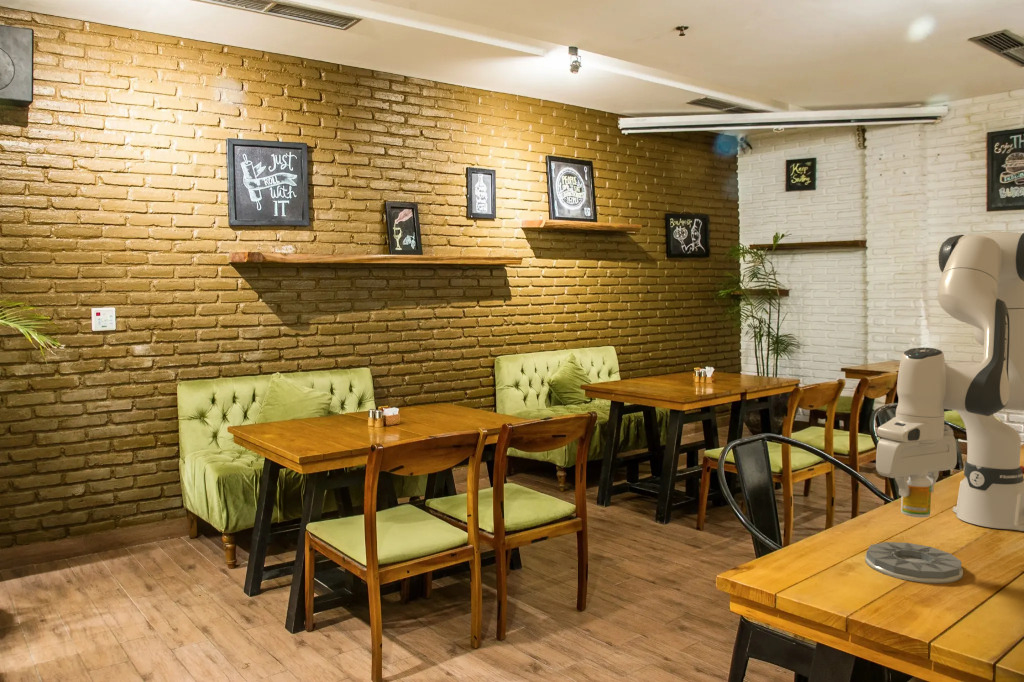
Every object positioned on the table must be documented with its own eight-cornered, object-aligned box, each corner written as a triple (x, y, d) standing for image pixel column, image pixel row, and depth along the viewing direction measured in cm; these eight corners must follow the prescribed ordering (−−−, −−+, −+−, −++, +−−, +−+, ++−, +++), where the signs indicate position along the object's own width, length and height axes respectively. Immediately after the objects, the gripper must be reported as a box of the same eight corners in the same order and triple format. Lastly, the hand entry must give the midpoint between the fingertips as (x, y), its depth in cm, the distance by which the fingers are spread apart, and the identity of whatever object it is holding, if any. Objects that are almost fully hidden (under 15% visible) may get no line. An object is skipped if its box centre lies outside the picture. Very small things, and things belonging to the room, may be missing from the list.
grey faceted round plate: (904, 546, 173) (904, 537, 173) (982, 574, 157) (983, 563, 157) (846, 558, 166) (846, 548, 165) (922, 589, 149) (923, 578, 149)
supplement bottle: (933, 518, 157) (935, 471, 157) (905, 517, 158) (906, 470, 158) (925, 511, 162) (927, 465, 162) (897, 509, 164) (899, 464, 163)
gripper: (938, 421, 166) (935, 485, 167) (871, 428, 158) (868, 495, 159) (967, 426, 161) (963, 492, 162) (898, 434, 152) (895, 503, 153)
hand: (916, 494), depth 160 cm, fingers closed on supplement bottle, 5 cm apart
